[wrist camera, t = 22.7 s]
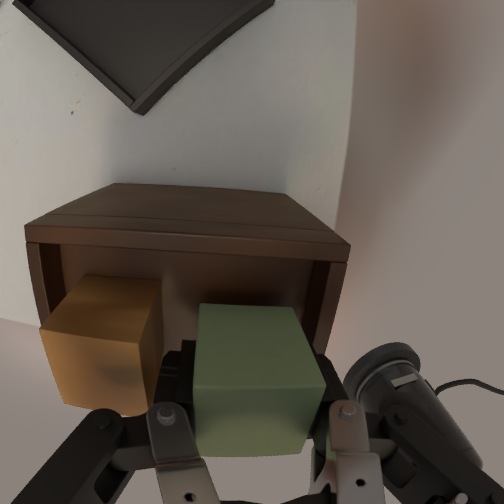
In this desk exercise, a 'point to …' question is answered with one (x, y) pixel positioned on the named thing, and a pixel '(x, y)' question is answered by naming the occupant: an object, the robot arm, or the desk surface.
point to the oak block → (107, 343)
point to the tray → (140, 38)
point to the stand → (193, 253)
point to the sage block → (253, 382)
